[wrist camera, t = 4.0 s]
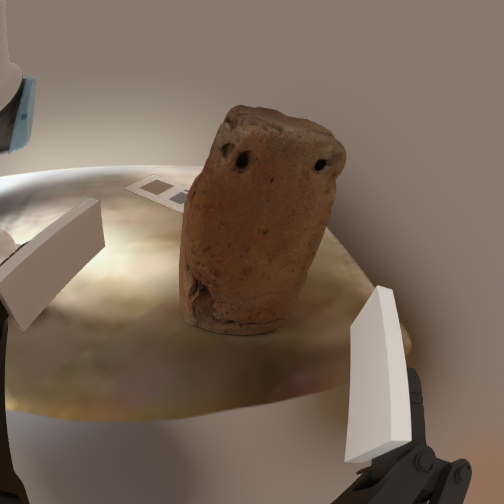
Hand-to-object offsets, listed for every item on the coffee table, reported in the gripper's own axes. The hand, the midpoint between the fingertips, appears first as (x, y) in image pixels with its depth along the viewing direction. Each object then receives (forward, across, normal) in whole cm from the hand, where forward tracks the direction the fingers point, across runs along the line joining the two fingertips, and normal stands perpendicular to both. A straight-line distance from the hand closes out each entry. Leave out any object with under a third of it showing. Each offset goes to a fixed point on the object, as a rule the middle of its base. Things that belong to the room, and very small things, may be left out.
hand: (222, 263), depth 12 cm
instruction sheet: (+31, -18, -14) cm, 39 cm away
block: (+10, -1, -15) cm, 18 cm away
